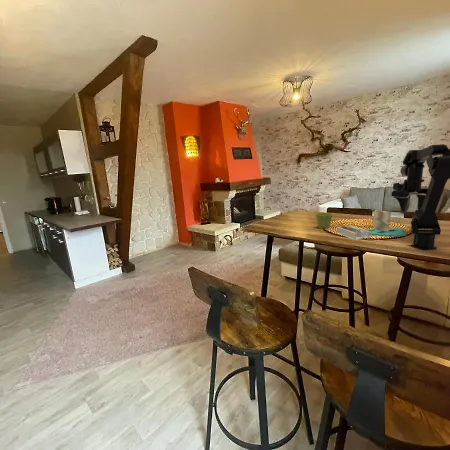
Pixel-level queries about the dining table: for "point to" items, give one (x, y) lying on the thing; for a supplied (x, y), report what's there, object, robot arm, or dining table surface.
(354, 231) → the sage offcut
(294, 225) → the dining table surface
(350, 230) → the walnut offcut
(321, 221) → the plant pot
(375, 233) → the alien figure
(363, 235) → the board rack
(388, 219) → the birch sheet
